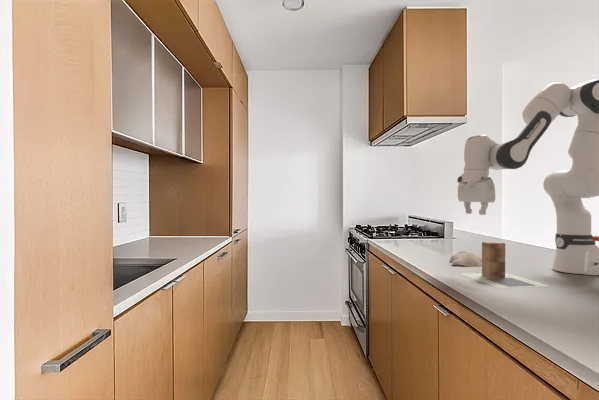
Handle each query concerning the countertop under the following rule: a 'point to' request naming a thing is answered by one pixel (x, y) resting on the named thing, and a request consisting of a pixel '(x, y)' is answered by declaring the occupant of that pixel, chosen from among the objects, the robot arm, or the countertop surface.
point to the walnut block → (493, 259)
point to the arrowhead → (466, 259)
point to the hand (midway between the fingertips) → (475, 214)
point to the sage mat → (504, 281)
